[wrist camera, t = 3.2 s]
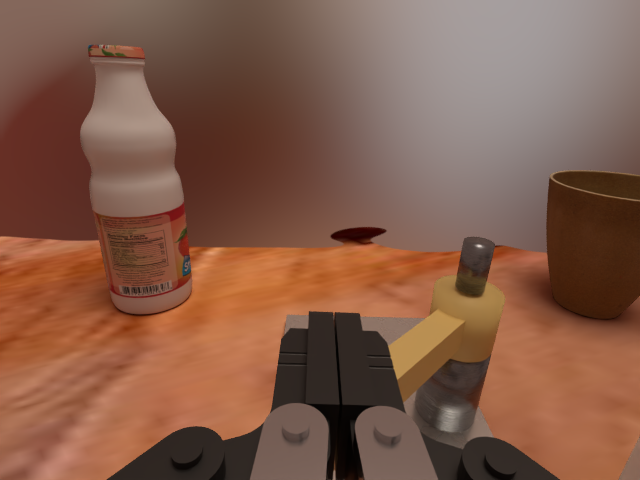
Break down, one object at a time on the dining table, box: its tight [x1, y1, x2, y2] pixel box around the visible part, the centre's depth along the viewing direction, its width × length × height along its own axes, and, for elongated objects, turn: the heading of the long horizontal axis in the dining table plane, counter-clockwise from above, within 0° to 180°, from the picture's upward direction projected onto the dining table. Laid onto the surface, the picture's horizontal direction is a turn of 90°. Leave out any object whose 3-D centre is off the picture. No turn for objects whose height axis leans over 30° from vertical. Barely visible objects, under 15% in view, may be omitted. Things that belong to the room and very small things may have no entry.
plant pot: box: [546, 170, 640, 319], centre depth 48 cm, size 15×15×16 cm
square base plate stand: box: [284, 237, 495, 480], centre depth 30 cm, size 17×24×16 cm
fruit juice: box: [80, 45, 192, 314], centre depth 43 cm, size 9×9×28 cm
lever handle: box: [334, 275, 505, 470], centre depth 24 cm, size 19×5×4 cm, turn 135°
